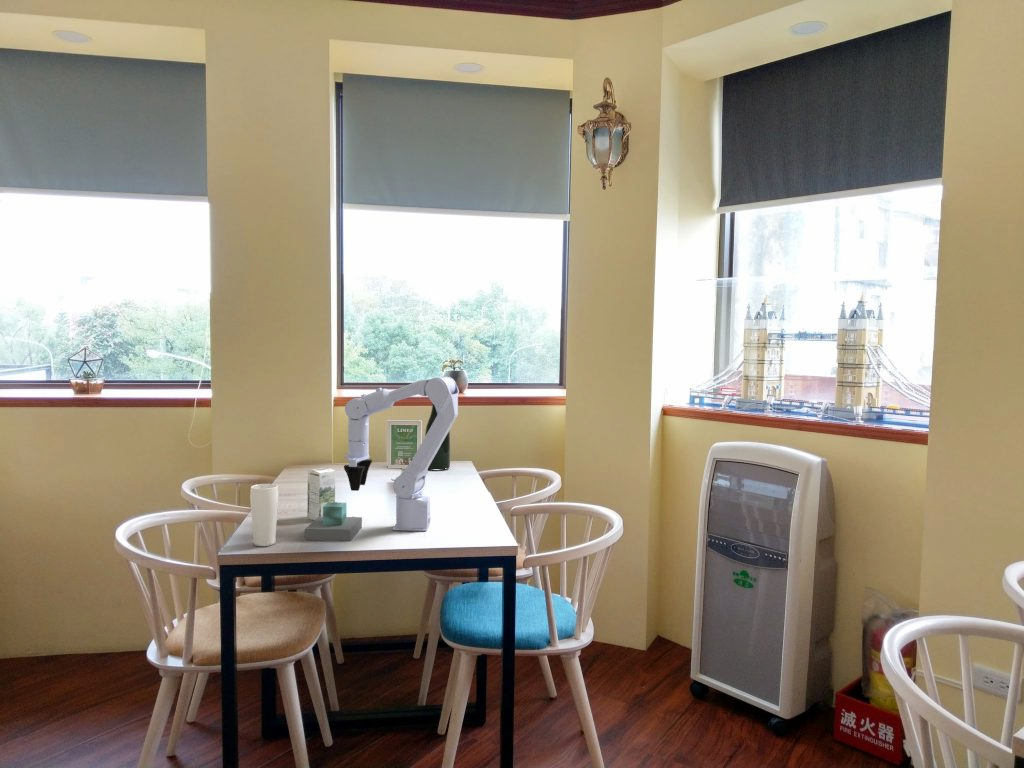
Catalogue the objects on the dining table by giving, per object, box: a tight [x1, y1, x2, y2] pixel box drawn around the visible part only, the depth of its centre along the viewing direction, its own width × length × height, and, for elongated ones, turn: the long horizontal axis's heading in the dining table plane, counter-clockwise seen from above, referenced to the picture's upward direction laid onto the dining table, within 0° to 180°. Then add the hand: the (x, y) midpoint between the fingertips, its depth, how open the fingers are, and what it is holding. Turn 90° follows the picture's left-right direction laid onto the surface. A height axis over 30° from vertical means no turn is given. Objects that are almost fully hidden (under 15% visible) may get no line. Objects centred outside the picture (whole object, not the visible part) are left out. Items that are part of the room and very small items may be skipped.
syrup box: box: [307, 467, 336, 521], centre depth 210 cm, size 6×6×14 cm
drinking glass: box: [249, 483, 279, 547], centre depth 183 cm, size 7×7×15 cm
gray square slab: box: [304, 516, 363, 542], centre depth 195 cm, size 12×13×3 cm
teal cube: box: [323, 501, 347, 525], centre depth 194 cm, size 5×5×5 cm
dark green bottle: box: [424, 402, 451, 469], centre depth 292 cm, size 10×10×33 cm
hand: (358, 487), depth 205 cm, fingers open, 7 cm apart
